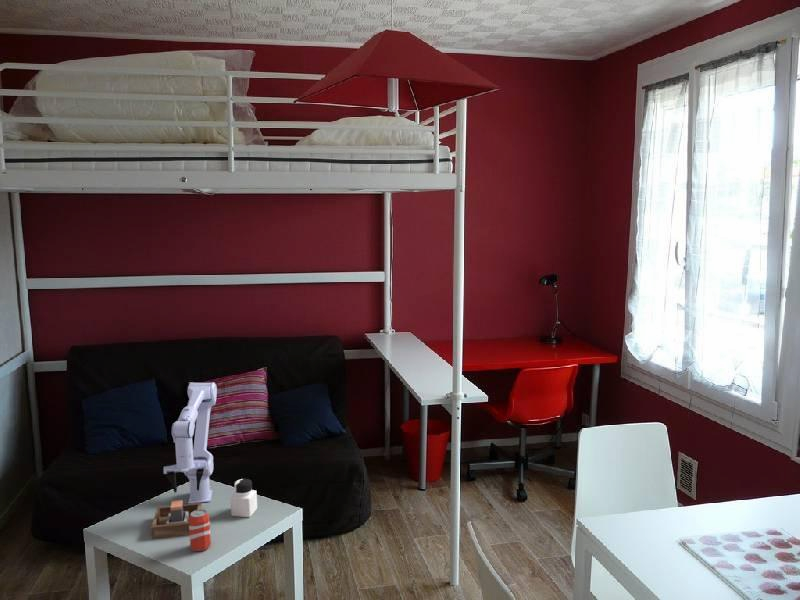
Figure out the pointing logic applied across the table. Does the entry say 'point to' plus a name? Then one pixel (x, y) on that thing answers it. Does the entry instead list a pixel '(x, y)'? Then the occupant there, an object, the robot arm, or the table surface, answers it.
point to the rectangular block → (177, 511)
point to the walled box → (169, 529)
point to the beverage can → (199, 530)
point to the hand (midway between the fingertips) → (186, 490)
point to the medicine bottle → (243, 499)
